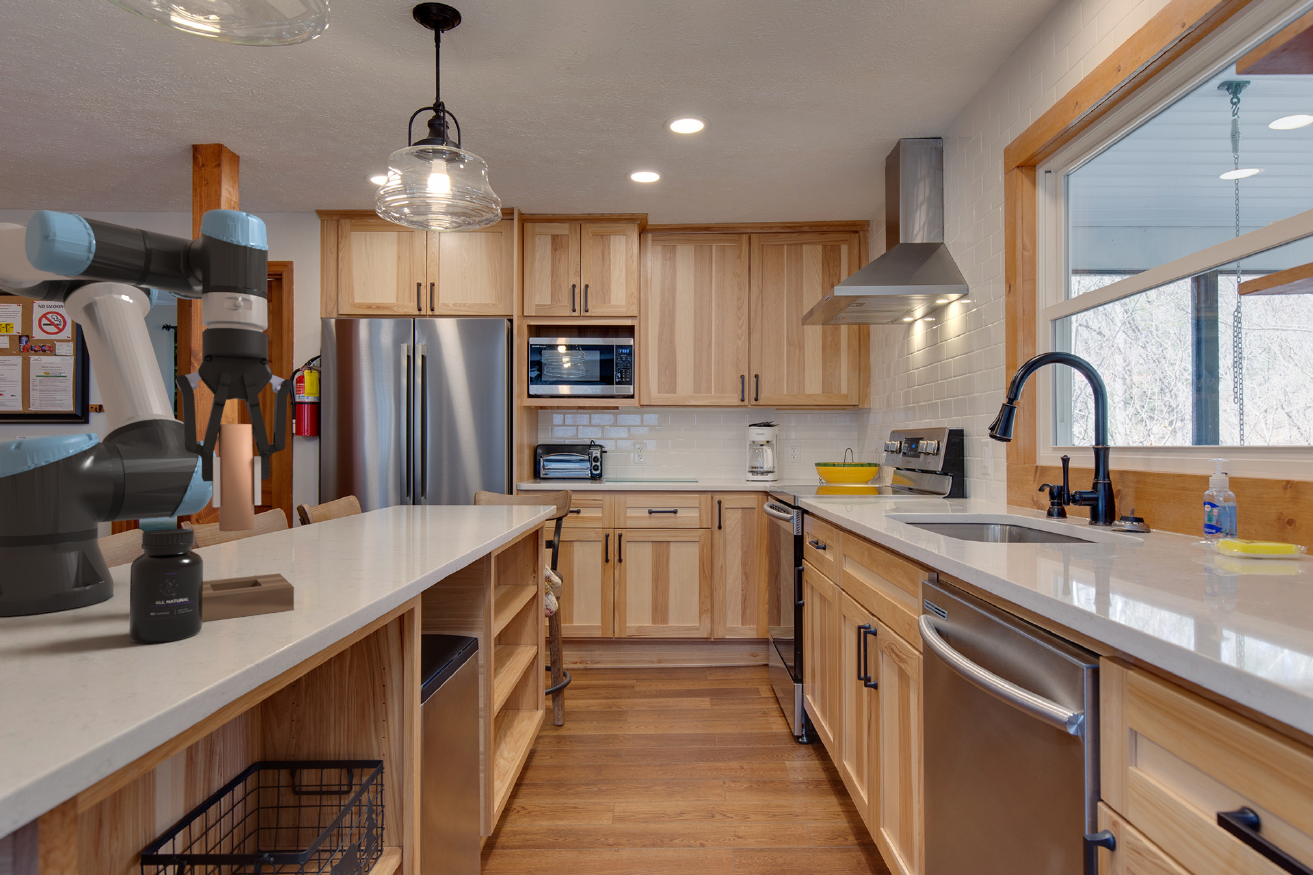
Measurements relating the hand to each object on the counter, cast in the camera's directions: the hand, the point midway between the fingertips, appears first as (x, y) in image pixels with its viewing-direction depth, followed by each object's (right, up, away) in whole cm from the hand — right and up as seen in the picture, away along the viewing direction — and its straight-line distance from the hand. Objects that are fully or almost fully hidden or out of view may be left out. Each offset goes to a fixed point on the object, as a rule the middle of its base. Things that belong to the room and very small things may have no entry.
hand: (236, 505), depth 93 cm
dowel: (0, -3, 0) cm, 3 cm away
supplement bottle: (0, -14, -13) cm, 19 cm away
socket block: (0, -14, 0) cm, 14 cm away
